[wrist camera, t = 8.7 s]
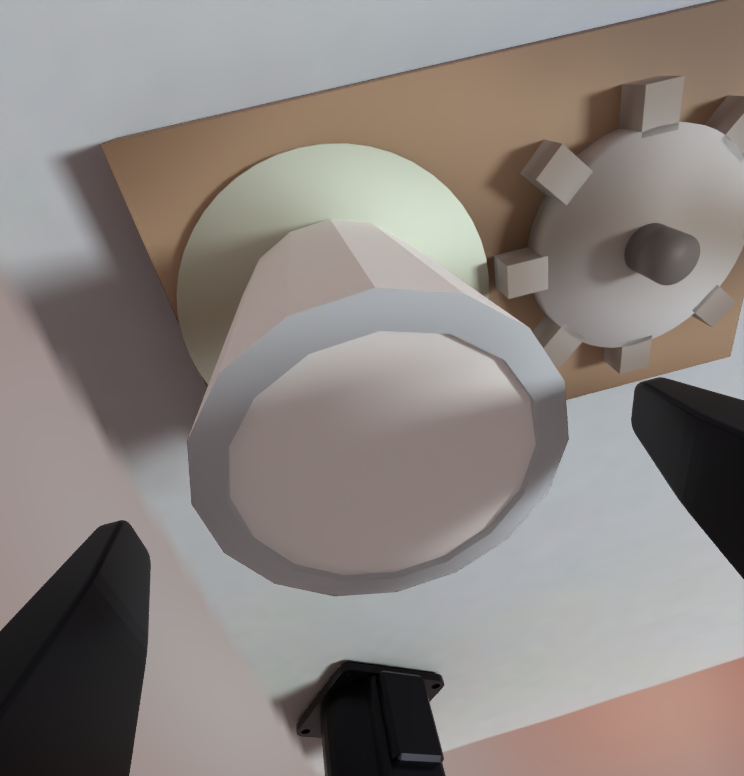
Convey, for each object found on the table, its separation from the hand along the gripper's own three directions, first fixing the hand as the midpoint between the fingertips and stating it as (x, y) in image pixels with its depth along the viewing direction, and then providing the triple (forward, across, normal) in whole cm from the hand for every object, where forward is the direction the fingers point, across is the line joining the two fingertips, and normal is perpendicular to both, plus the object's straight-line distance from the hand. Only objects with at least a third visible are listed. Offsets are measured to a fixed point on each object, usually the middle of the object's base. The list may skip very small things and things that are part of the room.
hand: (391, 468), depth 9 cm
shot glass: (+7, 0, 0) cm, 7 cm away
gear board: (+9, -4, 0) cm, 10 cm away
